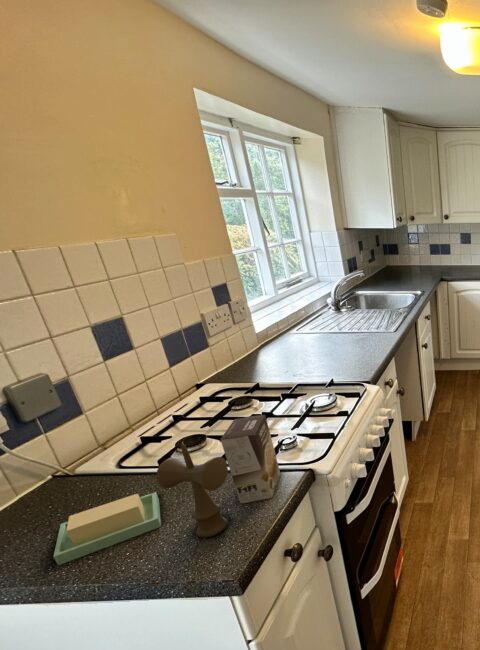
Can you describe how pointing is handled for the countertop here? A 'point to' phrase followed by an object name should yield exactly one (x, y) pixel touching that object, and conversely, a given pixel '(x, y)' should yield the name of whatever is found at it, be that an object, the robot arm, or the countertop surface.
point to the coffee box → (251, 458)
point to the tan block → (105, 519)
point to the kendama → (198, 488)
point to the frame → (69, 552)
